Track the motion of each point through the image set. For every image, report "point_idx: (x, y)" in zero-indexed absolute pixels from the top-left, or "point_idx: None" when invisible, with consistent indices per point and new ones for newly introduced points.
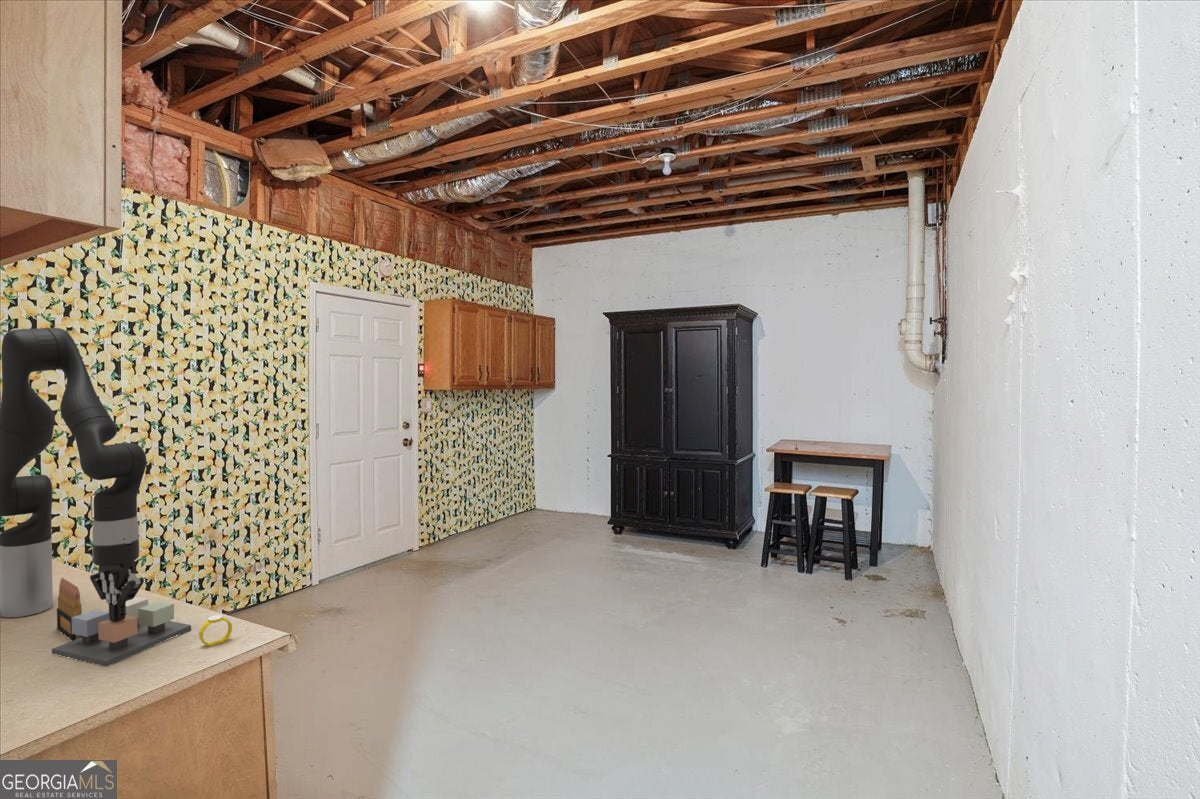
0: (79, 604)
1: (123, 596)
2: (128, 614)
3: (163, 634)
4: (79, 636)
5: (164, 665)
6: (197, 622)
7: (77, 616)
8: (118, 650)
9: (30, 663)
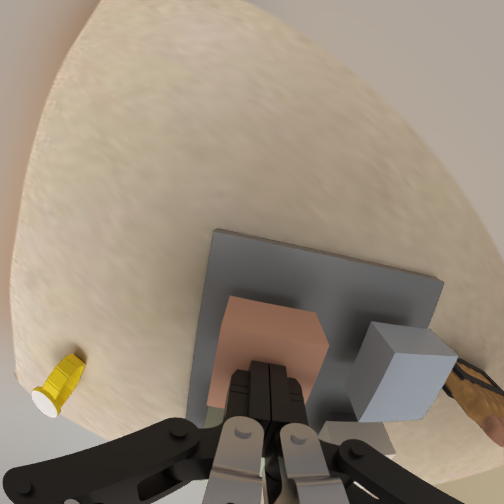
0: (472, 413)
1: (131, 444)
2: (327, 439)
3: (203, 398)
4: None
5: (77, 258)
6: None
7: (446, 368)
8: None
9: (445, 224)
